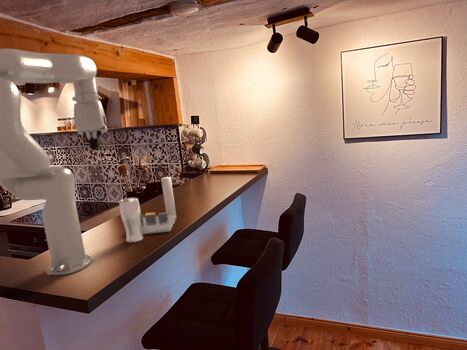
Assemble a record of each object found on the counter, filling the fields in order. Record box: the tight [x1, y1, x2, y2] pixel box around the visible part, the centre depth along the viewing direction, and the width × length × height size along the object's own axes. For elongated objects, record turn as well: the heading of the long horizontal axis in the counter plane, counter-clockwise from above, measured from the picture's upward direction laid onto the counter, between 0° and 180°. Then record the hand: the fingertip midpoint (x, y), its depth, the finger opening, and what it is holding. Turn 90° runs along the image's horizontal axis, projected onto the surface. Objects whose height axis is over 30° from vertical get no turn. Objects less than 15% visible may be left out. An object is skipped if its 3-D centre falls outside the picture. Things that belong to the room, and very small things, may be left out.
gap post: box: [160, 176, 177, 220], centre depth 143 cm, size 4×4×18 cm
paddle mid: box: [144, 212, 157, 222], centre depth 134 cm, size 2×4×3 cm, turn 90°
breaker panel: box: [141, 215, 176, 235], centre depth 135 cm, size 12×16×3 cm
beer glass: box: [119, 197, 144, 243], centre depth 123 cm, size 7×7×15 cm
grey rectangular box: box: [157, 211, 169, 221], centre depth 134 cm, size 2×4×2 cm, turn 90°
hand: (95, 149), depth 125 cm, fingers closed
